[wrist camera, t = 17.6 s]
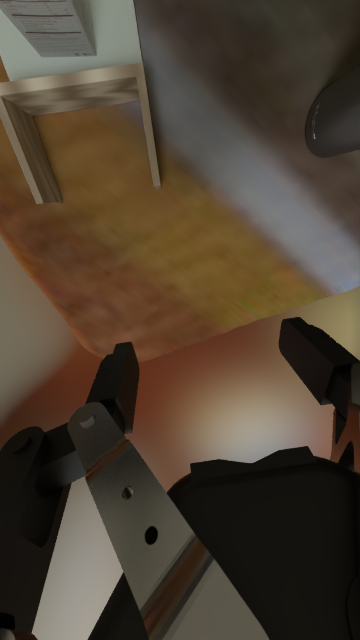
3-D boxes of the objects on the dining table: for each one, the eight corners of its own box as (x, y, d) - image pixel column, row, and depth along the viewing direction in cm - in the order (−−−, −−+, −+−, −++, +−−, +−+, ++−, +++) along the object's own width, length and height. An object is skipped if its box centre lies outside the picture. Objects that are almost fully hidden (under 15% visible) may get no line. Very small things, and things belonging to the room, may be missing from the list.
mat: (121, -82, 23) (120, -89, 23) (144, 75, 29) (143, 72, 29) (-41, -60, 23) (-46, -66, 22) (16, 93, 29) (13, 91, 28)
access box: (146, 90, 30) (142, 62, 24) (160, 188, 36) (160, 185, 30) (21, 107, 30) (-14, 84, 24) (57, 203, 36) (36, 203, 30)
